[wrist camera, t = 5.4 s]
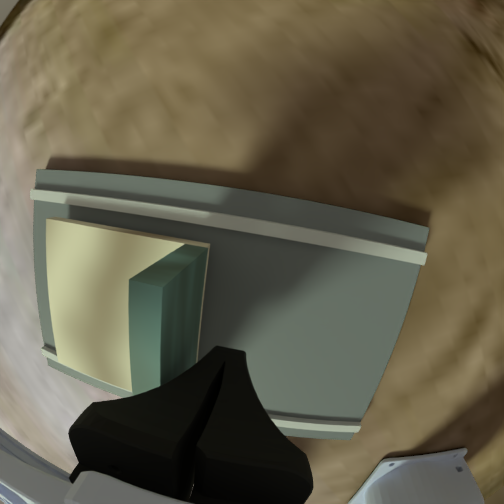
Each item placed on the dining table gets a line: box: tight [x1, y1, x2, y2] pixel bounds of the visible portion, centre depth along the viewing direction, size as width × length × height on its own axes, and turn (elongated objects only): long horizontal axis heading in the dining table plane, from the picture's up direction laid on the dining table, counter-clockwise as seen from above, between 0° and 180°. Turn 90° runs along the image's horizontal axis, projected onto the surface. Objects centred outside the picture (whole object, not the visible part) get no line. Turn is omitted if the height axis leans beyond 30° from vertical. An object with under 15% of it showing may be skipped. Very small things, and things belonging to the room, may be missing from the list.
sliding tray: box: [46, 217, 210, 396], centre depth 12 cm, size 9×9×6 cm
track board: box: [30, 169, 429, 440], centre depth 15 cm, size 22×14×1 cm, turn 81°
